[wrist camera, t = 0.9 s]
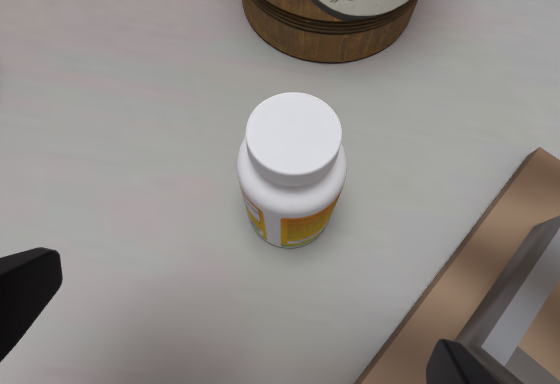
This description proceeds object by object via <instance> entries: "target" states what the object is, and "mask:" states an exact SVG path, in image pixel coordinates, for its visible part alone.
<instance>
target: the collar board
mask: <svg viewBox="0 0 560 384" xmlns="http://www.w3.org/2000/svg"><path fill="white" fill-rule="evenodd" d="M442 338H444V339H448V340H453V341H457V342H459V343H461V344H462V345H463V346H464V347H465V348H466V349H467V350H468V351H469V352H470V353H471V354H472V355H473V356H474V357H475V358H476V359H477V360H478V361H479V362H480V363H481V364H482V365H483V366H484V367H485V368H486V369H487V370H488V371H489V372H490V373H491V374H492V375H493V376H494V377H495V378H496V379H497V380H498V381H499V382H500V383H501V384H560V160H559V159H557V158H556V157H554V156H553V155H551V154H550V153H548V152H546V151H545V150H543V149H542V148H540V147H539V148H538V149H536V150H535V151H533V152H532V153H531V154H529V155H528V156H527V157H526V159H525V160H524V161H523V163H522V164H521V165H520V167H519V168H518V169H517V171H516V172H515V173H514V174H513V176H512V177H511V178H510V180H509V181H508V182H507V184H506V185H505V186H504V188H503V189H502V190H501V192H500V193H499V194H498V196H497V197H496V198H495V199H494V201H493V202H492V203H491V205H490V206H489V207H488V209H487V210H486V211H485V213H484V214H483V215H482V217H481V218H480V219H479V221H478V222H477V223H476V224H475V226H474V227H473V228H472V230H471V231H470V232H469V234H468V235H467V236H466V238H465V239H464V240H463V242H462V243H461V244H460V245H459V247H458V248H457V249H456V251H455V252H454V253H453V255H452V256H451V257H450V259H449V260H448V261H447V263H446V264H445V265H444V267H443V268H442V269H441V270H440V272H439V273H438V274H437V276H436V277H435V278H434V280H433V281H432V282H431V284H430V285H429V286H428V288H427V289H426V290H425V292H424V293H423V294H422V295H421V297H420V298H419V299H418V301H417V302H416V303H415V305H414V306H413V307H412V309H411V310H410V311H409V313H408V314H407V315H406V317H405V318H404V319H403V320H402V322H401V323H400V324H399V326H398V327H397V328H396V330H395V331H394V332H393V334H392V335H391V336H390V338H389V339H388V340H387V341H386V343H385V344H384V345H383V347H382V348H381V349H380V351H379V352H378V353H377V355H376V356H375V357H374V359H373V360H372V361H371V363H370V364H369V365H368V366H367V368H366V369H365V370H364V372H363V373H362V374H361V376H360V377H359V378H358V380H357V381H356V382H355V384H427V383H426V366H427V363H428V360H429V358H430V356H431V354H432V351H433V349H434V347H435V345H436V343H437V341H438V340H439V339H442Z"/></svg>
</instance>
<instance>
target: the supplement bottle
mask: <svg viewBox="0 0 560 384" xmlns="http://www.w3.org/2000/svg"><path fill="white" fill-rule="evenodd" d="M245 135H246V137H245V139H244V140H243V142H242V144H241V146H240V149H239V152H238V157H237V173H238V180H239V184H240V187H241V190H242V194H243V197H244V201H245V205H246V208H247V212H248V216H249V219H250V222H251V224H252V226H253V228H254V229H255V231H256V232H257V233H258V235H259V236H260V237H262V238H263V239H264V240H265V241H267V242H269V243H271V244H273V245H275V246H279V247H284V248H294V247H300V246H303V245H306V244H308V243H310V242H312V241H313V240H315V239H316V238H317V237H318V236H319V235H320V234H321V233H322V232H323V230H324V229H325V227H326V225H327V223H328V221H329V219H330V216H331V214H332V211H333V209H334V206H335V204H336V202H337V200H338V198H339V195H340V193H341V190H342V187H343V184H344V181H345V177H346V171H347V162H346V155H345V151H344V148H343V146H342V144H341V141H342V128H341V124H340V121H339V119H338V117H337V115H336V113H335V112H334V111H333V109H332V108H331V107H330V106H329V105H328V104H326V103H325V102H323V101H322V100H320V99H319V98H317V97H314V96H312V95H309V94H305V93H299V92H288V93H282V94H278V95H275V96H272V97H270V98H268V99H266V100H265V101H263V102H262V103H261V104H259V105H258V106H257V107H256V108H255V109H254V111H253V112H252V114H251V115H250V117H249V119H248V122H247V125H246V132H245Z"/></svg>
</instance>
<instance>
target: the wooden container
mask: <svg viewBox="0 0 560 384" xmlns="http://www.w3.org/2000/svg"><path fill="white" fill-rule="evenodd" d="M242 1H243V7H244V11H245V14H246V17H247V19H248V21H249V22H250V24H251V26H252V27H253V29H254V30H255V31H256V32H257V33H258V34H259V35H260V36H261V37H262V38H263V39H264V40H265V41H266V42H268V43H269V44H271V45H272V46H274V47H275V48H277V49H279V50H280V51H283V52H285V53H287V54H289V55H292V56H295V57H298V58H301V59H306V60H310V61H317V62H330V63H333V62H345V61H352V60H357V59H361V58H365V57H367V56H370V55H372V54H375V53H377V52H379V51H381V50H382V49H384V48H385V47H387V46H388V45H390V44H391V43H393V42H394V41H395V40H396V39H397V38H398V36H399V35H400V34H401V33H402V31H403V30H404V29H405V27H406V25H407V24H408V22H409V19H410V17H411V15H412V13H413V10H414V8H415V6H416V3H417V1H418V0H242Z"/></svg>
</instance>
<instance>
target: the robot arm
mask: <svg viewBox="0 0 560 384" xmlns="http://www.w3.org/2000/svg"><path fill="white" fill-rule="evenodd" d="M62 279H63V277H62V268H61V260H60V254H59V253H58V252H57V251H56V250H52V249H48V248H43V247H39V248H35V249H31V250H27V251H24V252H20V253H16V254H13V255H9V256H6V257H2V258H0V362H1V361H2V360H3V359H4V358H5V357H6V355H7V354H8V353H9V352H10V351H11V350H12V349H13V347H14V346H15V345H16V344H17V343H18V342H19V340H20V339H21V338H22V337H23V335H24V334H25V333H26V331H27V330H28V329H29V328H30V326H31V325H32V324H33V322H34V321H35V320H36V318H37V317H38V316H39V314H40V313H41V312H42V310H43V309H44V308H45V307H46V305H47V304H48V303H49V301H50V300H51V299H52V297H53V296H54V295H55V293H56V292H57V291H58V290H59V288H60V286H61V284H62ZM426 383H427V384H501V383H500V382H499V381H498V380H497V379H496V378H495V377H494V376H493V375H492V374H491V373H490V372H489V371H488V370H487V369H486V368H485V367H484V366H483V365H482V364H481V363H480V362H479V361H478V360H477V359H476V358H475V357H474V356H473V355H472V354H471V353H470V352H469V351H468V350H467V349H466V348H465V347H464V346H463V345H462V344H461V343H459V342H457V341H453V340H448V339H444V338H442V339H439V340H438V341H437V343H436V345H435V347H434V349H433V351H432V354H431V356H430V358H429V360H428V363H427V366H426Z"/></svg>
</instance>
